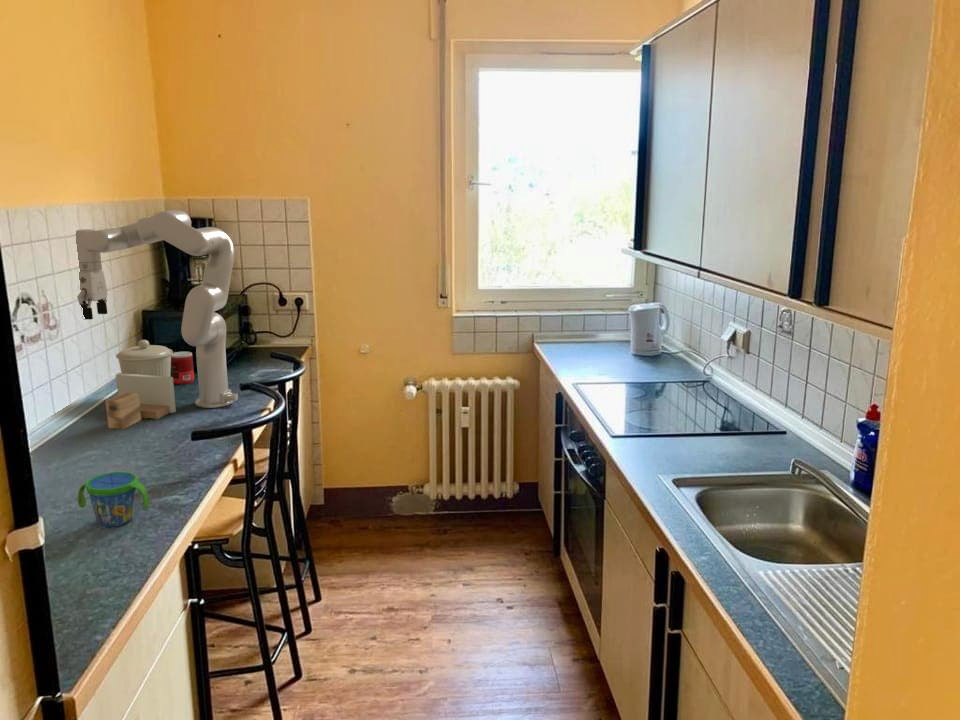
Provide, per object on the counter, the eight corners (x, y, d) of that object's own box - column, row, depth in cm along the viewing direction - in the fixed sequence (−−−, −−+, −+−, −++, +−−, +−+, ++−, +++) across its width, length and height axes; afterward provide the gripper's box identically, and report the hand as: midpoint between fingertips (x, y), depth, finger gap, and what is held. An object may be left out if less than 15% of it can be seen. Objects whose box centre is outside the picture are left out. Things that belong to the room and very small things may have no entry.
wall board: (176, 411, 253) (172, 377, 250) (160, 419, 245) (156, 383, 242) (123, 407, 258) (119, 373, 255) (106, 414, 250) (102, 379, 247)
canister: (186, 392, 275) (180, 335, 270) (160, 407, 258) (154, 346, 253) (138, 390, 277) (132, 333, 272) (110, 405, 260) (103, 345, 255)
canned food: (198, 379, 292) (195, 351, 289) (188, 385, 284) (185, 356, 282) (178, 378, 293) (176, 351, 290) (168, 384, 285) (166, 355, 282)
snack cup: (160, 514, 179) (156, 473, 176) (133, 534, 169) (129, 492, 166) (99, 508, 181) (94, 469, 179) (69, 528, 171) (64, 486, 169)
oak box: (141, 420, 245) (138, 393, 242) (121, 430, 236) (118, 402, 233) (127, 419, 246) (124, 392, 243) (107, 428, 237) (104, 401, 234)
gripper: (86, 270, 248) (93, 321, 252) (113, 263, 265) (118, 312, 269) (64, 269, 248) (70, 321, 252) (91, 263, 265) (97, 311, 269)
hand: (95, 316), depth 261 cm, fingers open, 9 cm apart
